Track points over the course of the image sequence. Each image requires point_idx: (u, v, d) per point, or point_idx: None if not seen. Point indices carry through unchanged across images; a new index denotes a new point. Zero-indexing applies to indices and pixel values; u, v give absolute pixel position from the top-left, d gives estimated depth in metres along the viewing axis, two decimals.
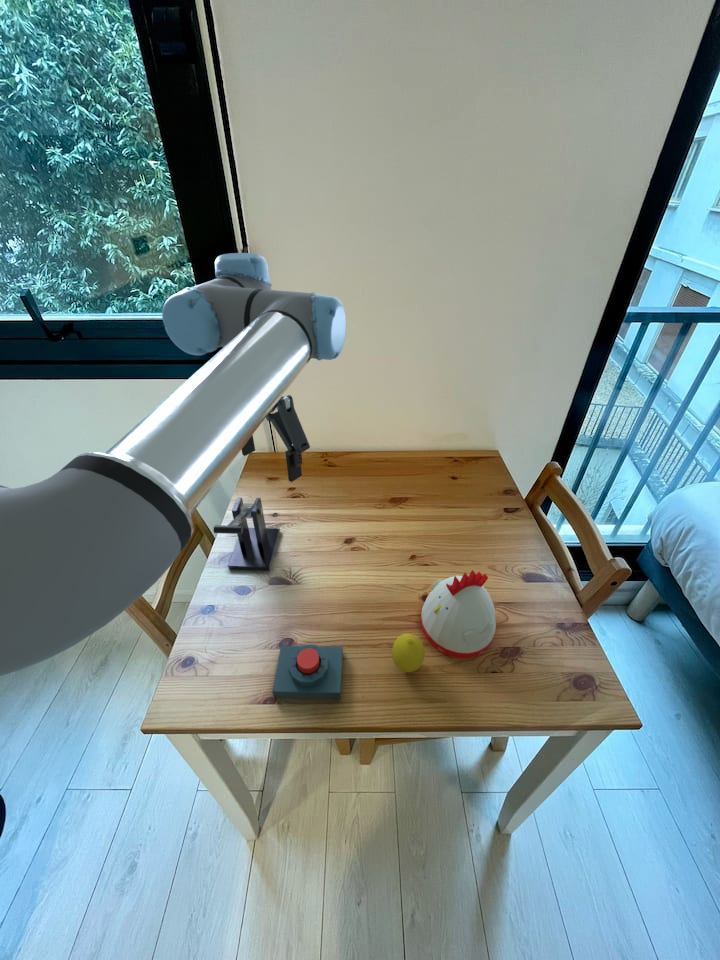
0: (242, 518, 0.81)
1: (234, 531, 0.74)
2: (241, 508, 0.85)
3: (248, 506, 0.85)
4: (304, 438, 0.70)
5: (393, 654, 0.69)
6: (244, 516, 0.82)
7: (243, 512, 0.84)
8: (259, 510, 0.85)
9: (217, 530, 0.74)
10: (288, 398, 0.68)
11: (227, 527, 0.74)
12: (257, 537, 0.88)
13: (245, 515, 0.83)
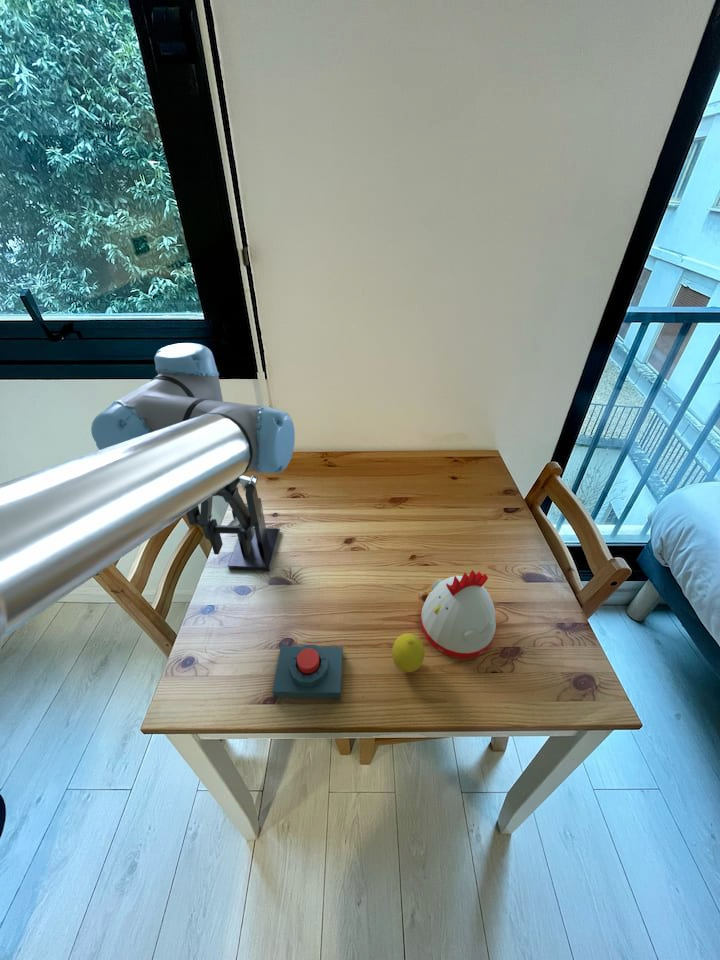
0: None
1: (234, 531, 0.74)
2: None
3: None
4: (259, 511, 0.72)
5: (393, 654, 0.69)
6: None
7: None
8: None
9: (217, 530, 0.74)
10: (256, 479, 0.68)
11: (227, 527, 0.74)
12: (257, 537, 0.88)
13: None
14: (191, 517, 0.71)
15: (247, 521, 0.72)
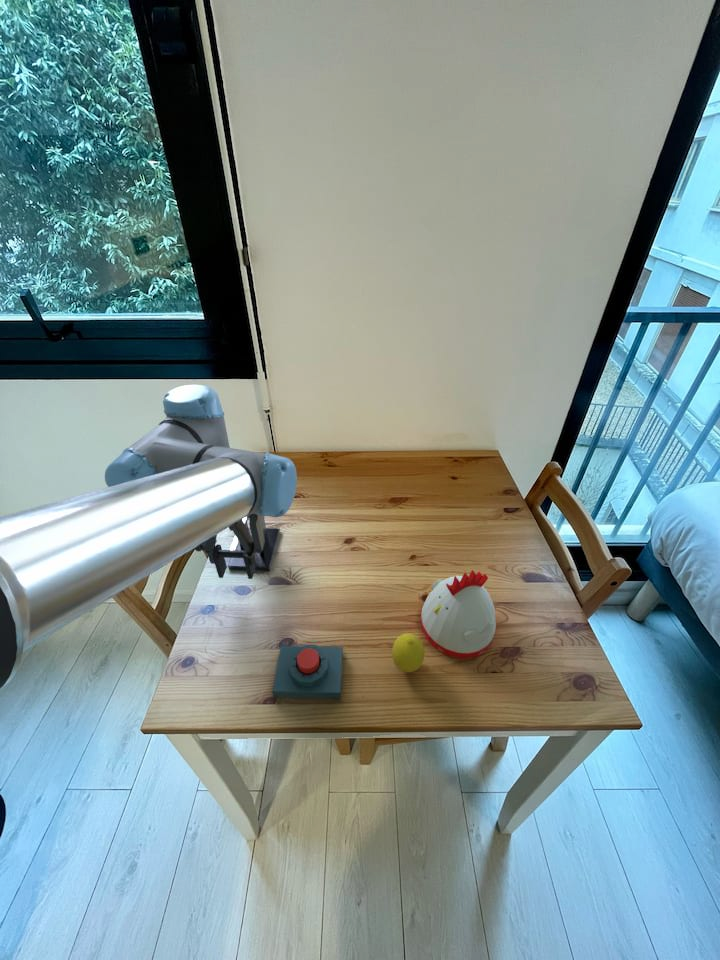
0: None
1: (238, 557, 0.76)
2: None
3: None
4: (263, 538, 0.75)
5: (393, 654, 0.69)
6: (245, 524, 0.83)
7: None
8: None
9: (221, 556, 0.76)
10: None
11: (230, 553, 0.76)
12: None
13: (246, 522, 0.83)
14: None
15: (251, 547, 0.75)
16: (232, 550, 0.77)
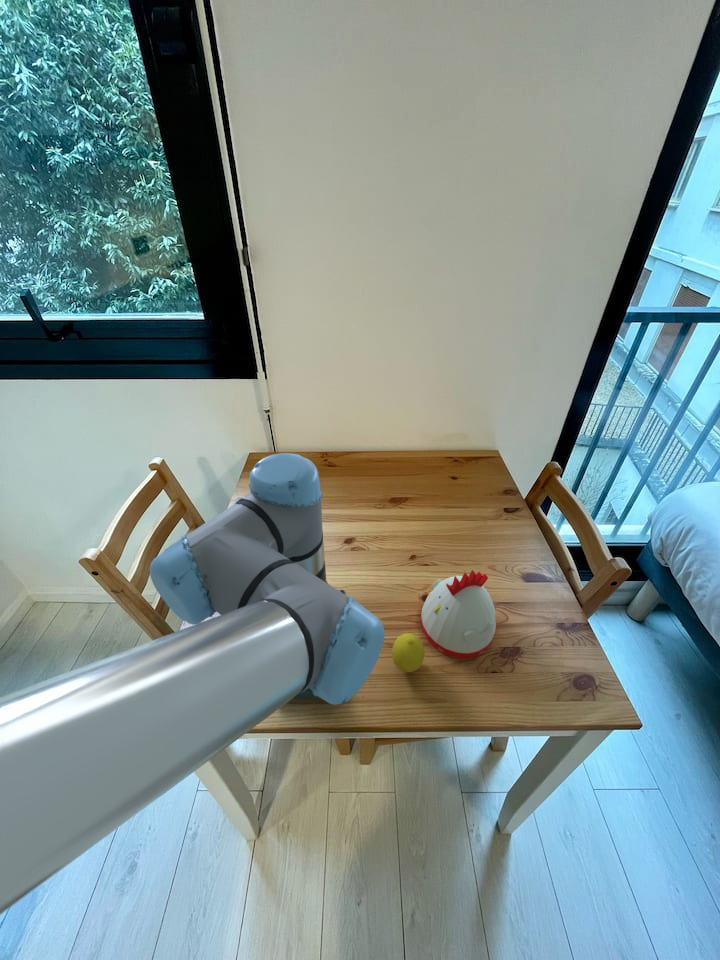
0: None
1: None
2: None
3: None
4: None
5: (393, 654, 0.69)
6: None
7: None
8: None
9: None
10: None
11: None
12: None
13: None
14: None
15: None
16: None
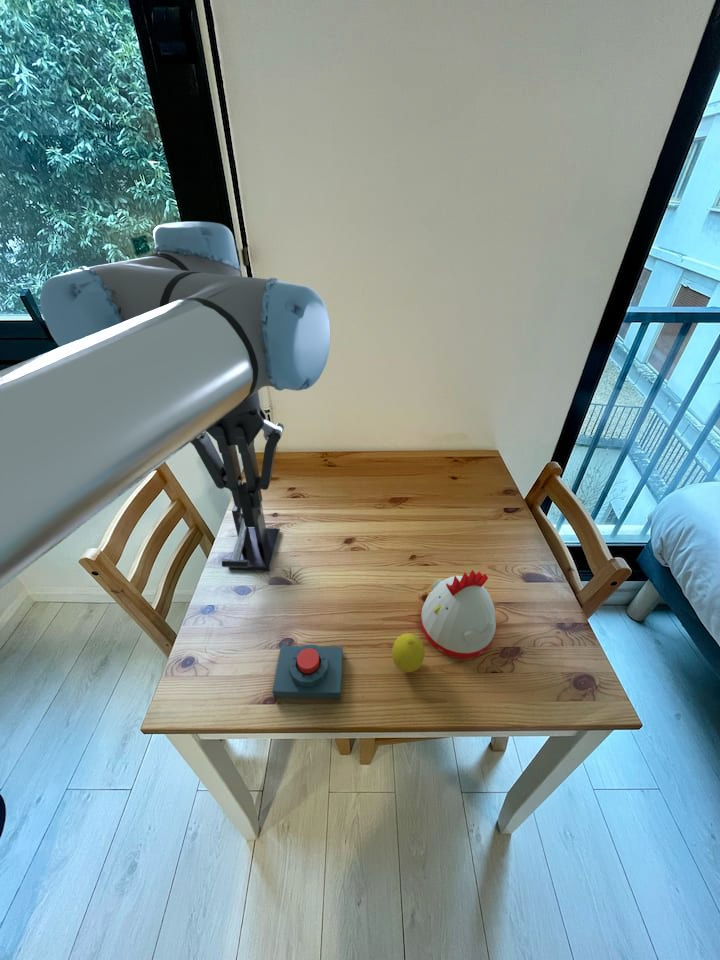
0: (245, 533, 0.83)
1: None
2: (241, 514, 0.85)
3: None
4: (272, 471, 0.58)
5: (393, 654, 0.69)
6: (246, 527, 0.84)
7: None
8: (259, 510, 0.85)
9: (225, 566, 0.79)
10: (282, 429, 0.53)
11: (234, 564, 0.78)
12: (257, 537, 0.88)
13: None
14: (216, 477, 0.56)
15: None
16: (235, 560, 0.79)
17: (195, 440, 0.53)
